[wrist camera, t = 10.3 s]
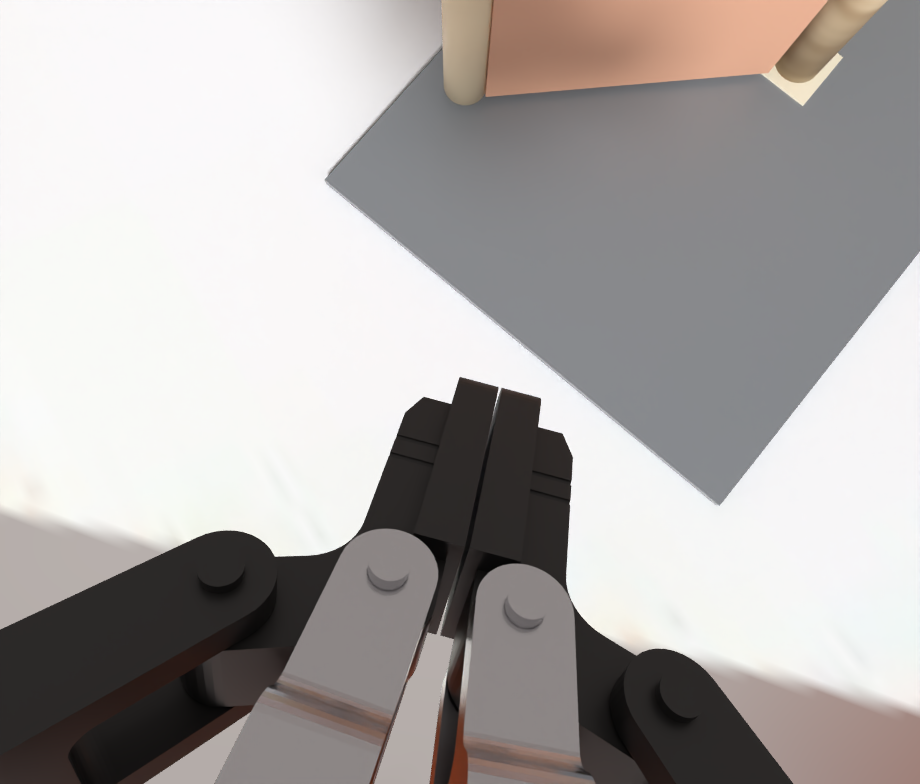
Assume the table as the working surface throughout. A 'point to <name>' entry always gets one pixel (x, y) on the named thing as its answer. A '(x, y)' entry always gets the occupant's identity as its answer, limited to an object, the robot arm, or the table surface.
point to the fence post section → (825, 37)
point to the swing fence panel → (610, 42)
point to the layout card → (668, 230)
